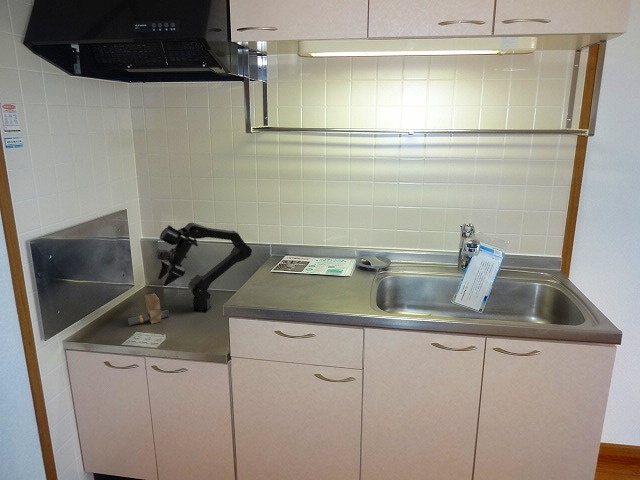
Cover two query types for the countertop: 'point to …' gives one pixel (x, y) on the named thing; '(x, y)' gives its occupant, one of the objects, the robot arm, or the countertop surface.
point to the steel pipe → (145, 318)
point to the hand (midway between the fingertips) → (161, 282)
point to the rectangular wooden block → (153, 307)
